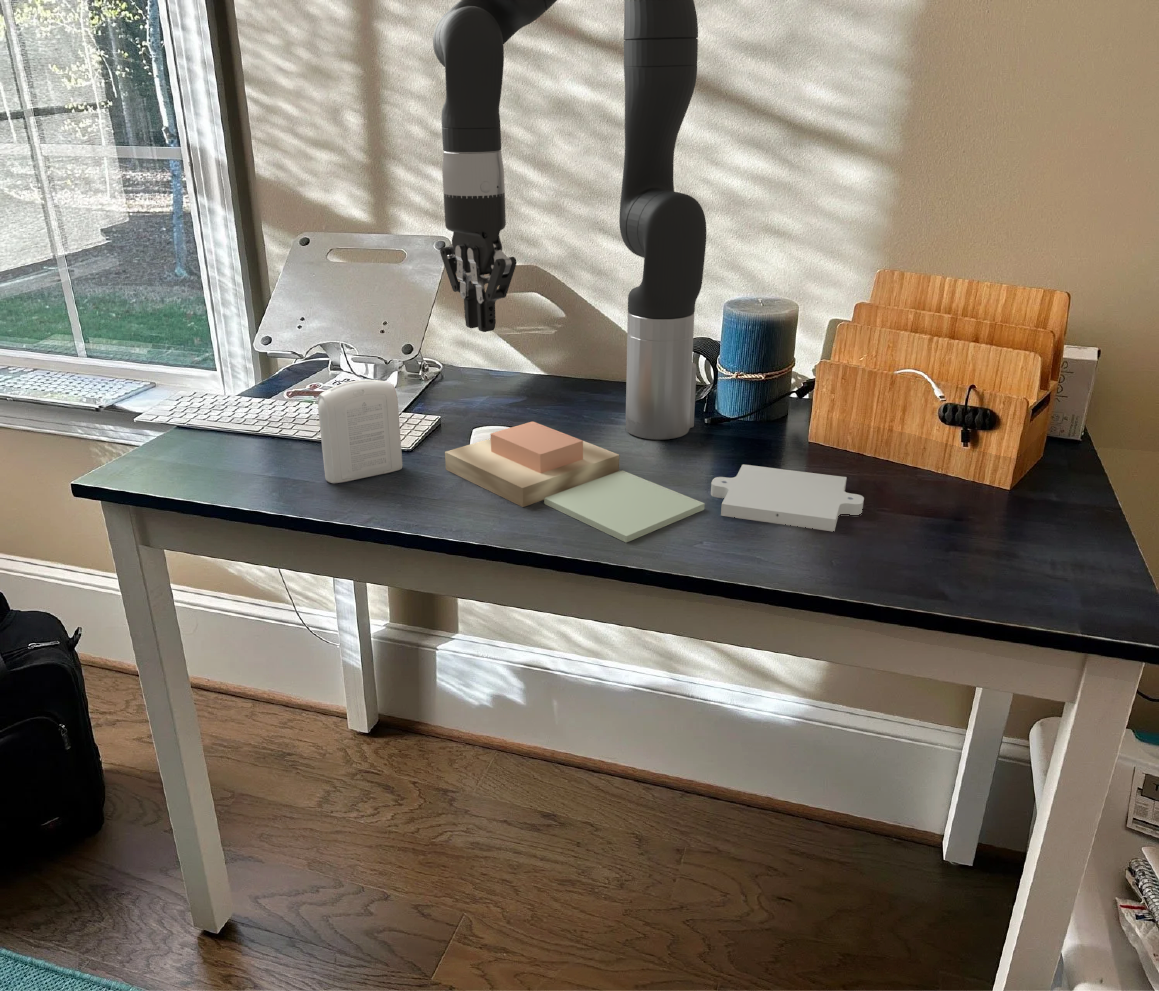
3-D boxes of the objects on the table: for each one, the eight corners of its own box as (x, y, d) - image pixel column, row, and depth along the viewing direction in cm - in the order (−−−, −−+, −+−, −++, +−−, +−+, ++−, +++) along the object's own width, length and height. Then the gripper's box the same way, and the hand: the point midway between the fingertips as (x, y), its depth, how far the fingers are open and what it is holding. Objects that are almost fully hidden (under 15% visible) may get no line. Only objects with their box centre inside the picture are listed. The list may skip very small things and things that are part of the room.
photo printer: (395, 460, 128) (387, 371, 123) (408, 470, 124) (401, 379, 119) (320, 476, 123) (309, 384, 118) (332, 488, 119) (321, 393, 114)
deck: (539, 440, 134) (539, 423, 133) (619, 472, 123) (619, 454, 122) (445, 469, 125) (444, 451, 124) (522, 507, 114) (522, 488, 113)
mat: (621, 475, 122) (621, 470, 122) (704, 509, 113) (704, 503, 113) (544, 503, 115) (544, 497, 114) (626, 542, 105) (626, 536, 105)
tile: (532, 438, 128) (532, 421, 127) (583, 459, 121) (582, 440, 120) (491, 451, 124) (490, 433, 123) (540, 473, 117) (540, 454, 116)
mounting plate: (699, 515, 112) (700, 500, 112) (722, 475, 124) (723, 461, 123) (857, 538, 107) (858, 522, 106) (865, 494, 118) (867, 479, 117)
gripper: (533, 192, 115) (536, 333, 122) (465, 183, 124) (472, 315, 131) (483, 197, 110) (489, 344, 117) (417, 187, 119) (426, 324, 126)
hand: (480, 328), depth 124 cm, fingers closed
